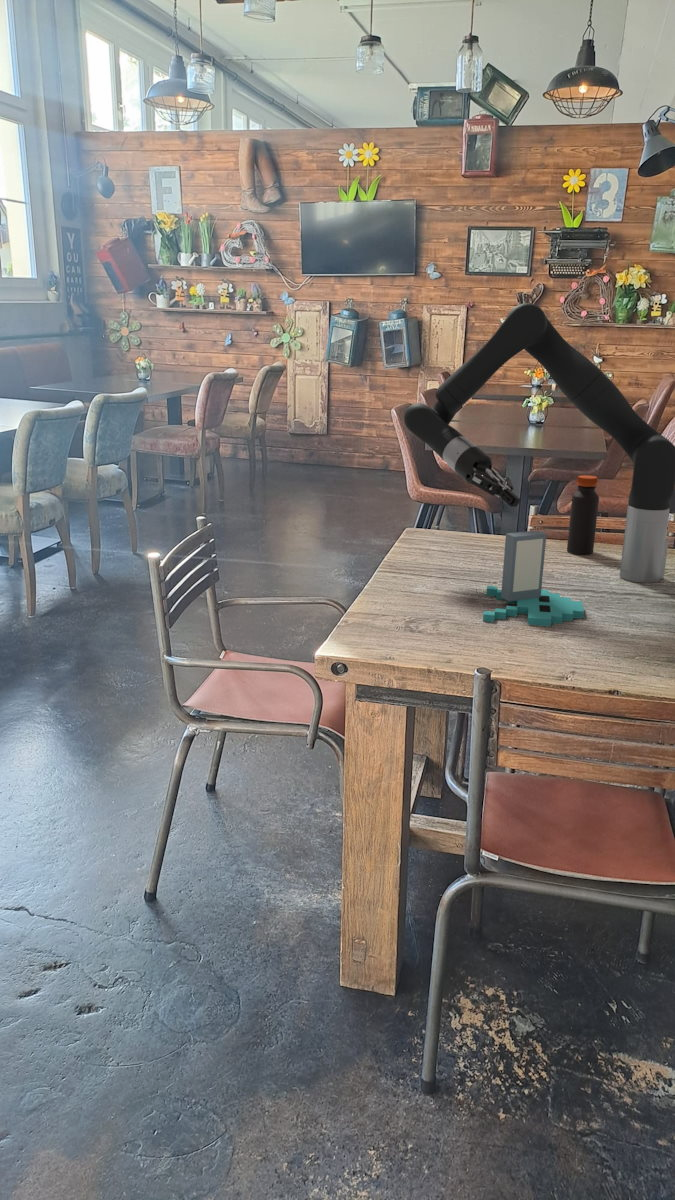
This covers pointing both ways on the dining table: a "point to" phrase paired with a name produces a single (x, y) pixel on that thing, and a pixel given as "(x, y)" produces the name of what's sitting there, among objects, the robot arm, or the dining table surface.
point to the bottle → (583, 516)
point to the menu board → (523, 565)
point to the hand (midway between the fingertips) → (516, 503)
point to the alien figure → (537, 608)
